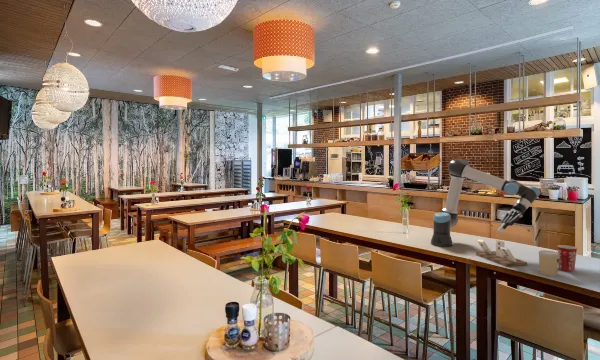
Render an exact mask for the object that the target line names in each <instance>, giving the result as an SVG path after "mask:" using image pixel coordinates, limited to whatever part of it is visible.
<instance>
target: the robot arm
mask: <svg viewBox="0 0 600 360" xmlns="http://www.w3.org/2000/svg"><path fill="white" fill-rule="evenodd" d="M470 165H471V164H470V163H469V161H467V160H466V159H461V158H458V159H457V158H456V159H452V160H450V161H449V163H448V164H447V169H448V172H449V177H450V182H449V188H448V190H447V194H446V195H447V197H446V200H445V205H444V207H443V208H442V209H441V212H435V213H434V214H433V219H432V221H433V231H432V232H433V234H432V235H431V236H432V237H431V240H430V244H431V245H432V246H435V247H442V248H443V247H445V248H448V247H452V246H453V240H452V237H451V228H454V227H455V226H456V225H457V224H458V222H459V217H458V215H459V212H458V210H457V209H458V205H459V201H460V196H461V192H462V187H463V184H464V181H465V180H466V179H470V180H472V181H475V182H477V183H480V184H483V185H486V186H488V187H490V188H491V187H492V188H494V189H497V190H499V191H502V192H504V193H506V194H507V195H513V196H514V195H517V196H519V198H518V200H517V201H516V202H515V203H514V204H513V205H512V208H511V209H510V210H509V211H508V210H505V213H504V215H503V217H502V218H501V220H500V222H501V224H500V226H499V227H498V228H497V229H496V231H497V233H499V234H502V232H504V231H505V230H506V229H507V228H508V227H509V226H511V227H512V226H513V225H514V224H515V223H517V222H518V221H519V220H520V219H522V218H524V215H523V214H525V212H526V211H527V210H528V208H529V207H530V206H531V205H532V204H533V203H534V202H535V201H536V200H537V198H538V197H539V196H540V195H541V190H540V189H539V188H537V187H536V186H531V185H530V186H529V187H528V186H526V185H524V184H523V183H521V182H519V181H518V180H515V179H514V178H511V179H509V180H506V179H504V178H501V177H499V176H495V175H492V174H490V173H487V172H484V171H482V170H479V169H476V168H473V167H471V166H470Z"/></svg>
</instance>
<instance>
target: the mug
mask: <svg viewBox="0 0 600 360" xmlns="http://www.w3.org/2000/svg"><path fill="white" fill-rule="evenodd" d="M556 248H557V253H559V261H558V270H559V271H563V272H567V273H573V272H575V268H576V261H577V260H576V259H577V253H578V252H577V251H578V248H577V247H576V246H572V245H565V244H563V245H562V244H561V245H560V244H559V245H557V247H556Z"/></svg>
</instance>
